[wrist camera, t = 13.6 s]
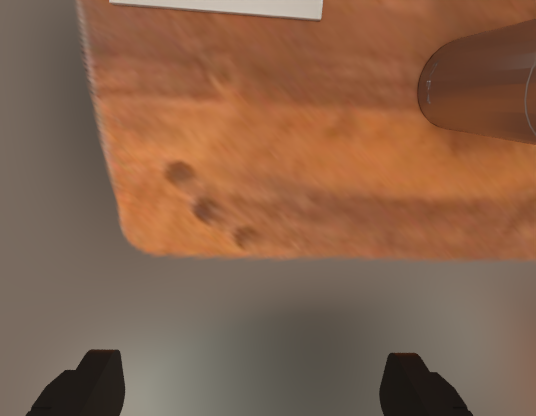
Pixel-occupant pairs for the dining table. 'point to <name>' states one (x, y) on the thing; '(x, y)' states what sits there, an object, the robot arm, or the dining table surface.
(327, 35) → the dining table surface
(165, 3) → the board
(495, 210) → the dining table surface
